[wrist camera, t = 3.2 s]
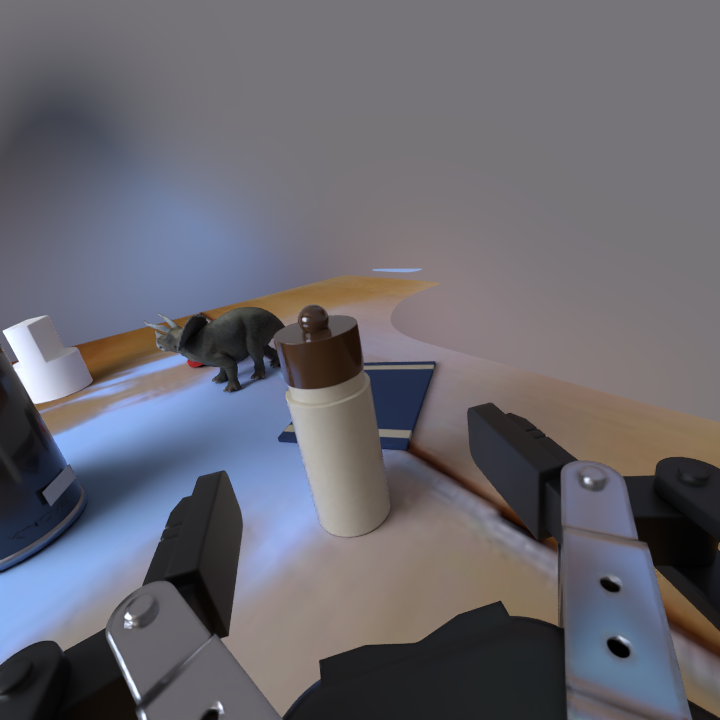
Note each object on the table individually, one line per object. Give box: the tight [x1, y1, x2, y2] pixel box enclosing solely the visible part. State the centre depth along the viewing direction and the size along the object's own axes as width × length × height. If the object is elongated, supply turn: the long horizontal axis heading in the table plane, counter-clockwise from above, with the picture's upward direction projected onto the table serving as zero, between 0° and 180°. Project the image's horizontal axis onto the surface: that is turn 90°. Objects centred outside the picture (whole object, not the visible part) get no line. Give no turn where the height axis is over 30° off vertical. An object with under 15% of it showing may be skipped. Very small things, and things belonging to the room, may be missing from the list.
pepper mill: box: [274, 305, 391, 537], centre depth 24 cm, size 5×5×15 cm
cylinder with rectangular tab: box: [3, 315, 93, 403], centre depth 60 cm, size 9×9×12 cm
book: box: [278, 361, 436, 450], centre depth 42 cm, size 13×18×1 cm
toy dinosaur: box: [144, 307, 285, 392], centre depth 52 cm, size 22×8×11 cm, turn 114°
